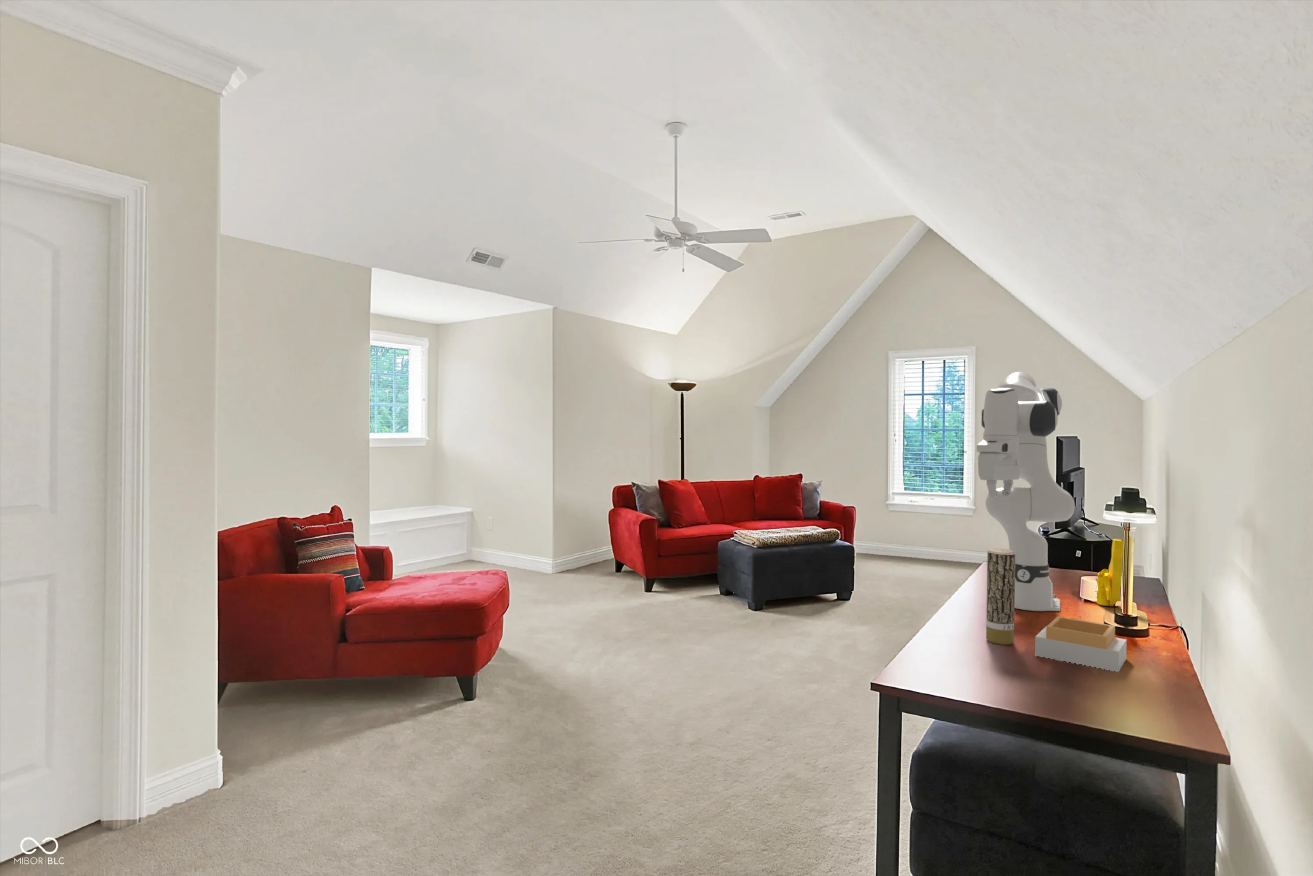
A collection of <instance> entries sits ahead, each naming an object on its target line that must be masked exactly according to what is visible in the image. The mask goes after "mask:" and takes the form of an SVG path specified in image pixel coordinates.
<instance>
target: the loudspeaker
mask: <svg viewBox="0 0 1313 876" xmlns="http://www.w3.org/2000/svg"><path fill="white" fill-rule="evenodd" d="M1034 637H1035V638H1034V657H1038V656H1039V657H1038V658H1043V657H1045V658H1044V659H1048V658H1050V659H1049V660H1053V659H1055V660H1054V661H1058V662H1063V661H1066V662H1065V663H1069V662H1071V663H1070V664H1074V663H1076V665H1079V664H1082V665H1081V666H1084V665H1086V666H1085V667H1089V666H1091V667H1090V668H1094V667H1096V668H1095V669H1099V668H1101V669H1100V670H1104V669H1105V670H1106V671H1109V670H1110V672H1114V671H1115V672H1114V673H1119V672H1120V670H1121V669H1122V667H1123V665H1124V664H1125V662H1126V661H1127V640H1128V639H1126V638H1125V639H1124V638H1119V637H1116V625H1112V624H1107V623H1106V624H1105V623H1101V622H1094V621H1088V620H1081V619H1075V618H1069V617H1064V616H1063V617H1062V616H1056V617H1055V618H1054V619H1053V620H1052V621H1050V623H1049V624H1047V625H1046V626H1045V627H1043V628H1042V630H1040V632H1038V634H1036V635H1035V636H1034Z"/></svg>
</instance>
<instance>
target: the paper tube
mask: <svg viewBox="0 0 1313 876" xmlns="http://www.w3.org/2000/svg"><path fill="white" fill-rule="evenodd" d="M986 560H987V563H986V565H987V566H986V567H987V570H986V620H985V621H986V623H985V625H986V631H985V634H986V635H985V639H986V641H988V642H989V643H992V644H995V645H1002V646H1010V645H1012V644H1014V642H1015V641H1014V639H1015V608H1014V605H1015V551H1013V550H1009V548H1008V549H1006V548H988V549H987V559H986Z"/></svg>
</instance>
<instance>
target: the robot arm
mask: <svg viewBox="0 0 1313 876" xmlns="http://www.w3.org/2000/svg"><path fill="white" fill-rule="evenodd" d="M984 397H985V399H984V404H983V409H982V410H981V427H982V428H983V429H984V430H983V433H982V440H981V441H979V442H978V443H977V444H976V452H977V453H978V456H977V461H978V462H977V468H978V471H977V472H978V476H979V479H980V480H981V481H986V487H987V490H988V494H987V496H986V498H985V507H986V510H987V512H988V513H989V515H990V516H991V517H992V518H993V519H995V520H996V521H997V522H998V523H1000V524H1001V527H1003V529H1004V531H1005V532H1006V535H1007V539H1008V546H1009V547H1008V550H1013V551H1015V605H1014V609H1018V610H1019V609H1020V610H1023V611H1032V612H1048V611H1049V612H1061V599H1060V598H1057V597H1056V594H1053V592H1054V591H1053V589H1054V587H1053V586H1054V585H1053V582H1052V580H1051V579H1050V577H1049V576H1050V565H1049V563H1048V561H1049V560H1048V556H1049V555H1048V554H1049V553H1048V548H1049V547H1048V546H1049V544H1048V542H1047V540H1046V538H1045V537H1044V536H1042V535H1041V534H1039V533H1038V532H1035V531H1034V530H1031V529H1030V528H1029V527H1028V525H1027V522H1038V523H1039V522H1040V523H1041V522H1042V523H1058V522H1066V521H1069V520H1070V519H1071V518H1072V516H1073V515H1074V512H1075V509H1076V505H1075V500H1074V498H1073V496H1072V495H1071V493H1070V492H1068V491H1067V490H1065V489H1064V488H1062V487H1061V486H1060V485H1059V484H1058V483H1057V482H1056V481H1055V479H1054V478H1053V476H1052V474H1051V471H1050V469H1049V463H1048V461H1049V460H1048V448H1047V446H1048V445H1047V437H1048V436H1049V435H1051V434H1052V433H1054V432H1055V430H1056V428H1057V425H1058V421H1059V420H1058V417H1059V415H1060V412H1061V411H1062V407H1063V400H1062V398H1061V394H1059V391H1058V390H1057V389H1056V388H1052V387H1044V388H1042V387H1041V388H1040V387H1037V383H1036V381H1035V380H1034V377H1032V376H1031V375H1030V374H1029V373H1027V372H1025V371H1016V372H1012V373H1010V374H1008V375H1007V376H1005V377H1004V378H1003V379H1002V380H1001V381H1000V382H999V384H998V386H997V388H995V387H994V388H990V389H988V390H987V391H986V393H985V396H984ZM1020 479H1022V480H1023V481H1026V482H1027V483H1028V484H1029V486H1030V487H1019V486H1018V487H1015V486H1013V484H1014V480H1020ZM997 481H1002V482H1003V487H998V488H997V484H998V482H997Z"/></svg>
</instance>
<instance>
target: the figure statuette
mask: <svg viewBox="0 0 1313 876" xmlns="http://www.w3.org/2000/svg"><path fill="white" fill-rule="evenodd" d="M1123 544H1124V541H1123V540H1122V539H1115V538H1114V539H1112V543H1111V558H1110V562H1109V565H1108V569H1106V568H1104V569H1102V570H1101V571H1099V572H1098V573H1097V577H1096V578H1095V581H1096V584H1097V585H1096V587H1097V586H1098V591H1097V590H1096V594H1097V597H1096V596H1095V599H1096V598H1097V600H1096V604H1097V605H1100V606H1105V607H1113V605H1114V604H1115V603H1116V602H1117V601H1121V598H1120V587H1121V576H1122V577H1123V558H1124V557H1123V556H1124V549H1123Z"/></svg>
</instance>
